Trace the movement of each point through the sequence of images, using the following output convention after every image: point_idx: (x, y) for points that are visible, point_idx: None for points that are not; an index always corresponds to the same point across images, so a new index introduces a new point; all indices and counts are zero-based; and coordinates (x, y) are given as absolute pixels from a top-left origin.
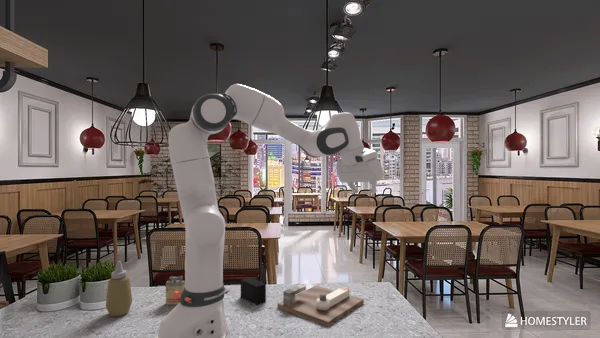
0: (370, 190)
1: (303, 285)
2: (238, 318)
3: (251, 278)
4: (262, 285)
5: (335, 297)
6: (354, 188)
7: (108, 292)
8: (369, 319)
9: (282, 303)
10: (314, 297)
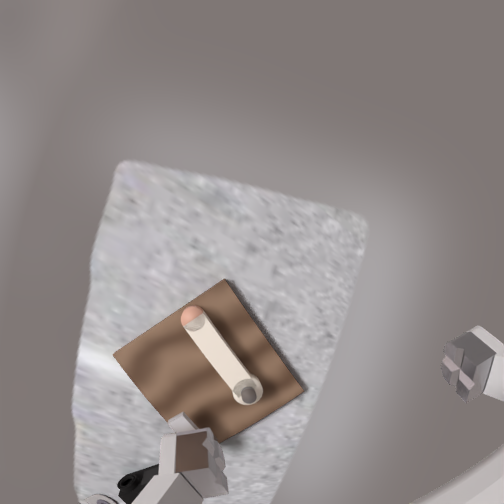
0: (465, 389)
1: (177, 418)
2: (225, 500)
3: (125, 494)
4: None
5: (237, 360)
6: (200, 485)
7: None
8: (300, 303)
9: None
10: (184, 384)
